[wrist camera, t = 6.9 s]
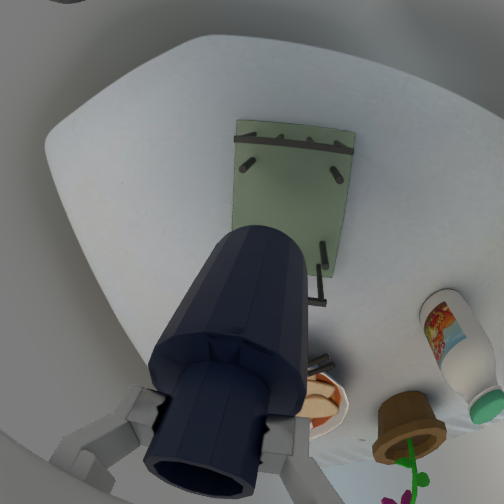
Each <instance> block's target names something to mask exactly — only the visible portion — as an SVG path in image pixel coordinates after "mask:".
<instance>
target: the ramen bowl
mask: <svg viewBox="0 0 504 504" xmlns="http://www.w3.org/2000/svg"><path fill="white" fill-rule="evenodd" d="M327 360H329V356H328V354H327V353H326V354H324V355H321V356H319V357H317V358H315V359H312V360H310V361H308V373H307V395H306V398H305V401H304V404H303V407H302V410H301V411H300V412H299V413H298V414H297V415H296V416H298V417H309V419H310V438H309V441H310V440H312V439H315V438H317V437H320V436H323V435H325V434H328V433H329V432H331V431H332V430H333V429H334V428H336V427H337V426H338V425H339V424H340V423H342V422H343V421H344V418H345V416H346V413H347V410H348V408H349V403H348V400H347V397H346V394H345V390H344V388H343V387H342V386H341V385H340V383H339V382H338V381H336V380H335V379H334V378H333V377H332V376H330V375H329V374H328V373H327V372H325V371H328V370H330V369H333V368H335V364H334V363H333V362H331V363H328V364H326V365H323V366H320V367H319V366H318V365H317V364H319V363H322V362H324V361H327Z"/></svg>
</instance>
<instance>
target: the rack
mask: <svg viewBox="0 0 504 504" xmlns="http://www.w3.org/2000/svg"><path fill="white" fill-rule="evenodd" d="M354 141H355V132H350V131H344V130H337V129H331V128H323V127H316V126H308V125H299V124H289V123H279V122H267V121H252V120H237V128H236V135H235V136H234V142H235V143H236V147H235V166H234V187H233V210H232V231H233V230H235V229H237V228H240V227H243V226H248V225H263V226H269V227H272V228H275V229H277V230H280V231H282V232H283V233H285V234H287V235H288V236H289V237H290V238H292V239H293V240H294V241H295V242H296V244H297V245H298V246H299V248H300V249H301V251H302V253H303V255H304V258H305V262H306V268H307V275H312V276H317V287H318V298H311V297H308V305H313V306H322V307H326V304H327V300H326V299H324V292H323V282H322V277H329V278H332V275H333V270H334V265H335V260H336V255H337V250H338V245H339V240H340V234H341V229H342V223H343V217H344V211H345V205H346V199H347V193H348V186H349V179H350V172H351V165H352V157H353V154H354Z"/></svg>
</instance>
